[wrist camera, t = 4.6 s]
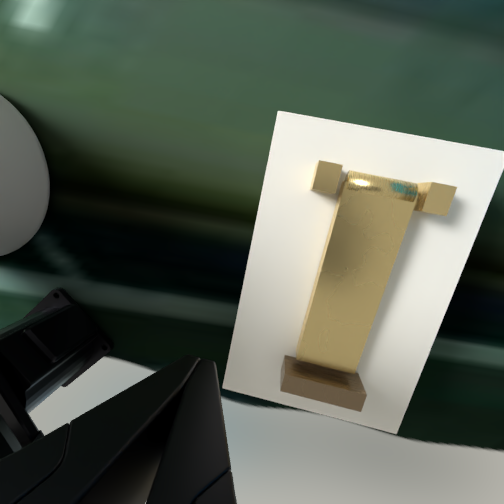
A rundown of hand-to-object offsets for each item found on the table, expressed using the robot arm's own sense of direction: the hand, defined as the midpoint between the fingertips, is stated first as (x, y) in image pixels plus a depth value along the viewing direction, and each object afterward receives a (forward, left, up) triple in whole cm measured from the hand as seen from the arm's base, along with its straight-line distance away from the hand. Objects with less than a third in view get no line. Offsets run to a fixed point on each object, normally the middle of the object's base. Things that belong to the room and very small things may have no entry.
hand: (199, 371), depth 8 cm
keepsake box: (+4, -3, -12) cm, 13 cm away
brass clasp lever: (+5, -3, -7) cm, 9 cm away
